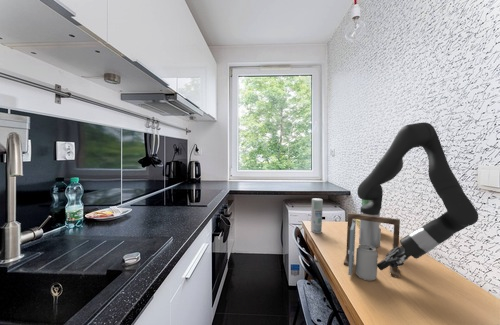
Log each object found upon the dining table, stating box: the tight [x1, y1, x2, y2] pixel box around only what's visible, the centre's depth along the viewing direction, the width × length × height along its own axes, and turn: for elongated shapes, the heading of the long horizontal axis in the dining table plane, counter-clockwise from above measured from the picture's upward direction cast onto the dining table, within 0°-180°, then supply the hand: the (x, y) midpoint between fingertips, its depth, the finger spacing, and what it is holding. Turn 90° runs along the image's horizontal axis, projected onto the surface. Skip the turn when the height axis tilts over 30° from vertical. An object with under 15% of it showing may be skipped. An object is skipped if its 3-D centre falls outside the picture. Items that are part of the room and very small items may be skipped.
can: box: [355, 244, 379, 282], centre depth 92 cm, size 8×8×12 cm
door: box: [347, 220, 357, 276], centre depth 97 cm, size 14×2×18 cm, turn 152°
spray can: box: [310, 197, 324, 234], centre depth 144 cm, size 6×6×20 cm
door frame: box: [343, 212, 401, 278], centre depth 100 cm, size 21×8×22 cm, turn 62°
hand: (378, 267), depth 90 cm, fingers closed
